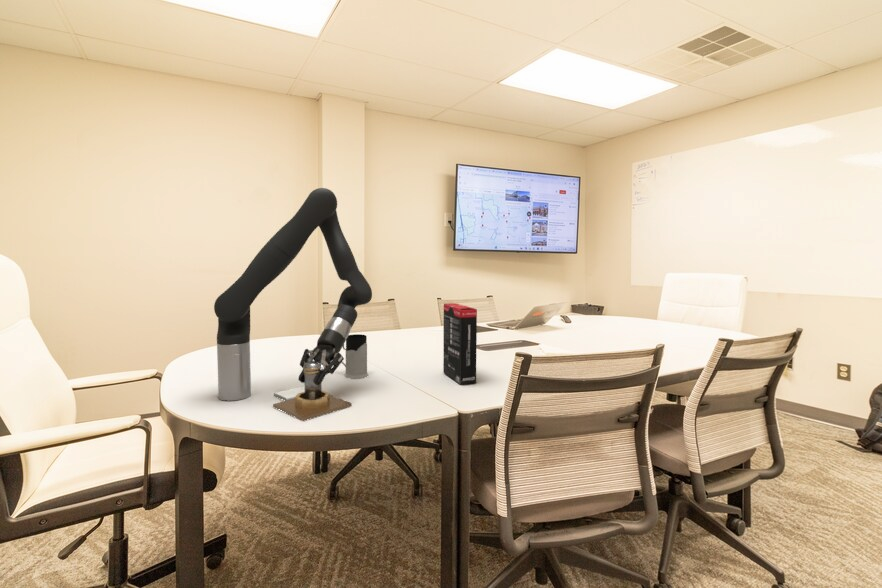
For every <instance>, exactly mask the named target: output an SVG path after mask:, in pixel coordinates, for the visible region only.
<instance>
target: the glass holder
mask: <svg viewBox="0 0 882 588" xmlns="http://www.w3.org/2000/svg"><path fill="white" fill-rule="evenodd" d="M342 349H343V350H344V351H345V363H344V361H342V362H341V364H342V365H343V366H344V367H345V374H344V376H345V377H346V378H345V377H344V378H345V379H348V378H350V379H351V380H362V379H365V377H366V378H367V376H368V377H369V373H368V342H367V335H365V334H362V333H361V334H357V333H356V334H349V335H348V337H347V339H346V341H345V344H344V345H343V347H342ZM361 378H362V379H361Z"/></svg>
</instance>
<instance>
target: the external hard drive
mask: <svg viewBox="0 0 882 588" xmlns="http://www.w3.org/2000/svg"><path fill="white" fill-rule="evenodd" d="M301 392H305V388H304V386H300V387H299V386H298V387H296V388H295V387H294V388H290V389H286V390H282V391H277V392H273V397H274V396H275V398H277V397H278V398H277V399H279V398H280V399H279V400H281V399H283V400H285V401H287V400H290V399H294V398H295V397H296V395H297V394H298V393H301ZM283 400H282V401H283Z"/></svg>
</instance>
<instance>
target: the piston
mask: <svg viewBox="0 0 882 588" xmlns="http://www.w3.org/2000/svg"><path fill="white" fill-rule="evenodd" d="M303 369H304V383H303V384H304V388H305V398H306V399H317V398H320V397H321V396H322V389H323V388H322V383H321V384H320V385H316V384H315V383H314V379H315V377H316V376H317V374H318V372H319V371H321V362H319V361H314V360H313V361H309V362H305V363H304V367H303V368H302V370H303Z"/></svg>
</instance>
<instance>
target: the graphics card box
mask: <svg viewBox="0 0 882 588" xmlns="http://www.w3.org/2000/svg"><path fill="white" fill-rule="evenodd" d="M477 319H478V310H477V308H474V307H470V306H466V305H463V304H460V303H453V302H451V303H450V302H448V303H443V363H442V365H443V374H445V375H446V376H447V377H449V378H450V379H452V380H453V381H454V382H456V383H457V384H459V385H460V386H465V385H471V384H476V383H477V341H478V340H477V336H478V334H477V333H478V332H477V331H478V329H477V328H478V326H477V325H478V323H477V322H478V320H477Z"/></svg>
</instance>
